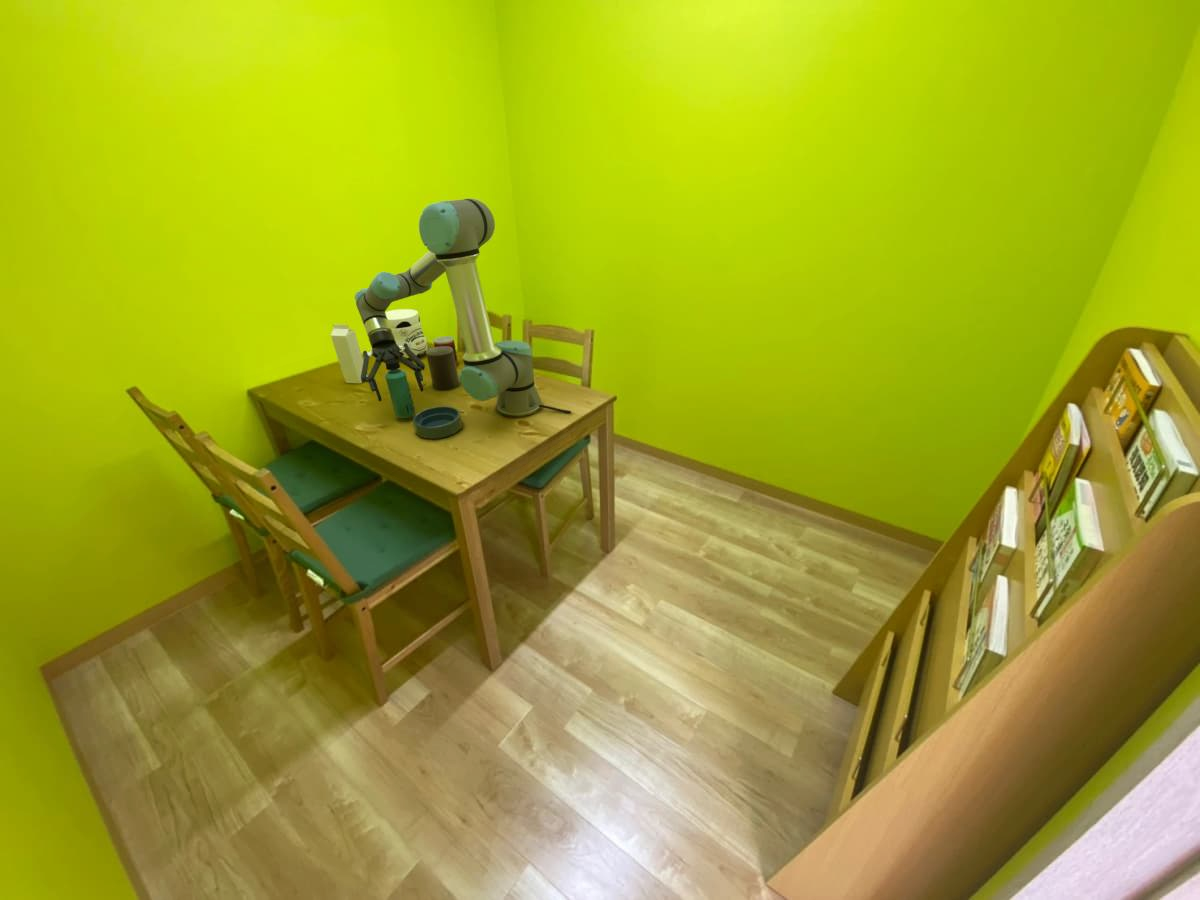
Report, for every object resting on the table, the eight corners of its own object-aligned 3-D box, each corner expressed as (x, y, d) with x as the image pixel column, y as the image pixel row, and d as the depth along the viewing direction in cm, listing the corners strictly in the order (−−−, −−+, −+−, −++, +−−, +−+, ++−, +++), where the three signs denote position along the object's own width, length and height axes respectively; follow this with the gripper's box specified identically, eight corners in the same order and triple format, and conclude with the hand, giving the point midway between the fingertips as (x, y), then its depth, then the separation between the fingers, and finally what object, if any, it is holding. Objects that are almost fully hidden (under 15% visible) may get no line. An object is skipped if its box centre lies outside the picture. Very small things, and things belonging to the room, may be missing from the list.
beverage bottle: (410, 423, 156) (395, 365, 145) (392, 421, 157) (376, 364, 146) (420, 414, 161) (407, 358, 151) (402, 412, 162) (388, 356, 152)
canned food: (440, 362, 201) (435, 336, 195) (459, 361, 202) (454, 335, 196) (436, 369, 195) (431, 343, 189) (456, 368, 195) (452, 342, 189)
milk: (360, 383, 183) (343, 327, 171) (345, 383, 183) (327, 327, 171) (368, 377, 188) (352, 322, 176) (354, 376, 189) (337, 321, 177)
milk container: (428, 360, 202) (419, 318, 193) (385, 364, 199) (373, 322, 189) (430, 346, 217) (422, 307, 207) (390, 350, 213) (380, 310, 204)
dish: (466, 417, 159) (464, 405, 156) (456, 439, 147) (454, 427, 144) (423, 418, 159) (420, 406, 156) (410, 440, 147) (407, 428, 144)
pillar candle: (449, 392, 176) (441, 353, 168) (427, 388, 179) (419, 349, 171) (464, 381, 184) (458, 344, 176) (443, 378, 187) (436, 341, 179)
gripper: (418, 334, 164) (439, 390, 161) (340, 347, 153) (361, 408, 150) (418, 323, 157) (440, 381, 154) (337, 336, 146) (359, 399, 144)
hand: (401, 394), depth 152 cm, fingers open, 12 cm apart
